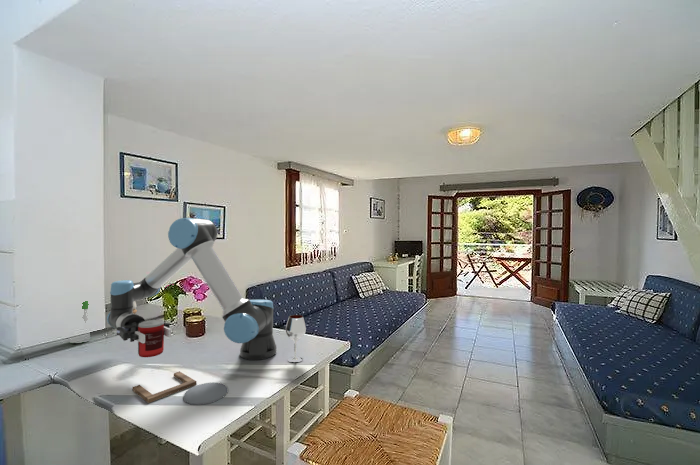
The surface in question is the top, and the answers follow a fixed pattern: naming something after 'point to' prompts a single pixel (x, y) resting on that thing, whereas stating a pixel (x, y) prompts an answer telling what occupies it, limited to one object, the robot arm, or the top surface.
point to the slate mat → (205, 393)
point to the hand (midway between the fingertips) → (157, 336)
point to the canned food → (151, 338)
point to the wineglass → (295, 330)
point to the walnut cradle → (152, 397)
